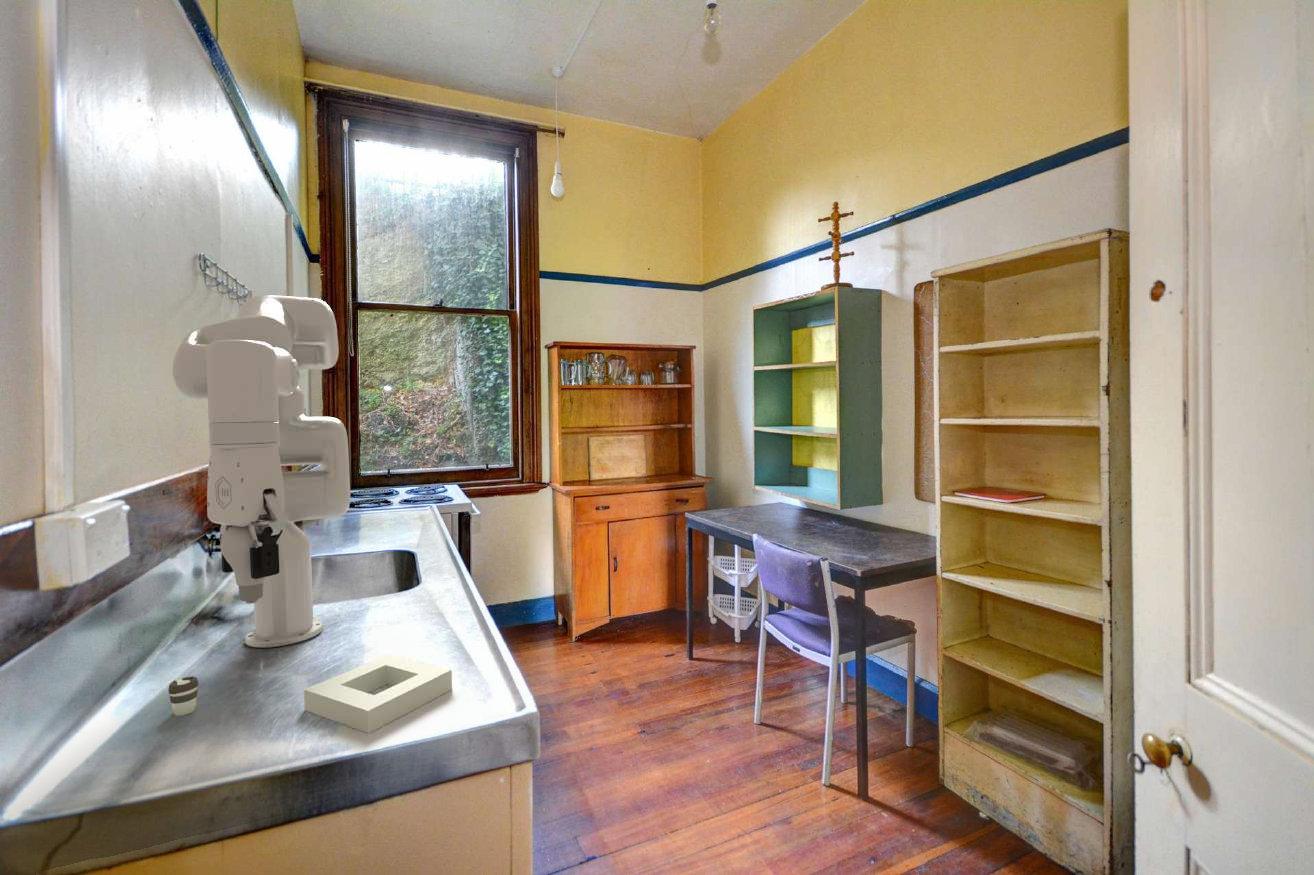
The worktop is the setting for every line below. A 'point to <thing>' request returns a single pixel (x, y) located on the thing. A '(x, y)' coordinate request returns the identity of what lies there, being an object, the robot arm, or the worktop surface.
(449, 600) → the worktop surface
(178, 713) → the coffee cup
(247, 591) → the lightbulb
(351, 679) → the socket block
